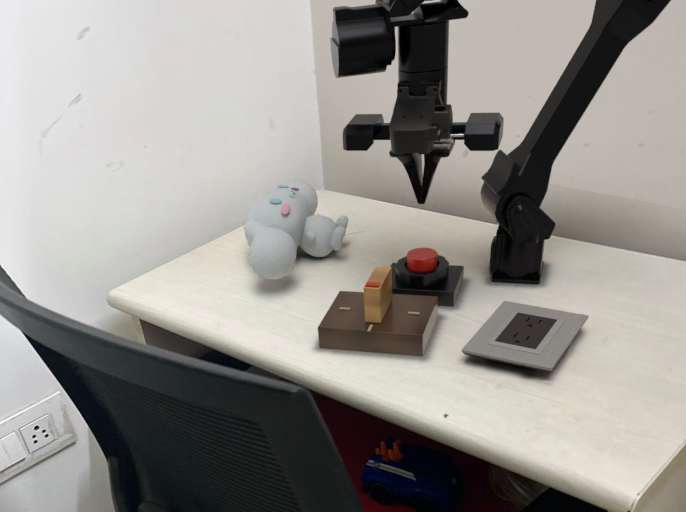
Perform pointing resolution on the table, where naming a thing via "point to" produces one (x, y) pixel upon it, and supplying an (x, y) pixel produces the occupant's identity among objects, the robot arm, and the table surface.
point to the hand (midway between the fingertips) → (421, 203)
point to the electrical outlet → (525, 336)
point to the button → (422, 259)
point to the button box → (428, 281)
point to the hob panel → (379, 325)
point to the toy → (288, 229)
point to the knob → (378, 294)
